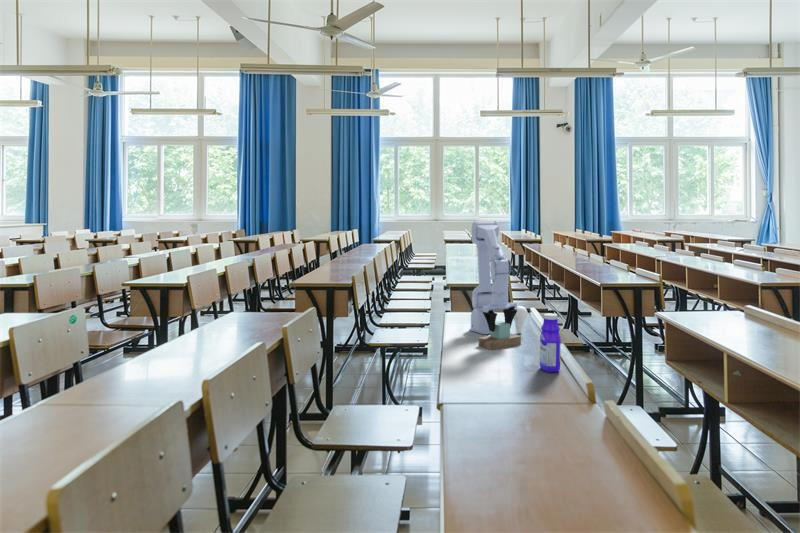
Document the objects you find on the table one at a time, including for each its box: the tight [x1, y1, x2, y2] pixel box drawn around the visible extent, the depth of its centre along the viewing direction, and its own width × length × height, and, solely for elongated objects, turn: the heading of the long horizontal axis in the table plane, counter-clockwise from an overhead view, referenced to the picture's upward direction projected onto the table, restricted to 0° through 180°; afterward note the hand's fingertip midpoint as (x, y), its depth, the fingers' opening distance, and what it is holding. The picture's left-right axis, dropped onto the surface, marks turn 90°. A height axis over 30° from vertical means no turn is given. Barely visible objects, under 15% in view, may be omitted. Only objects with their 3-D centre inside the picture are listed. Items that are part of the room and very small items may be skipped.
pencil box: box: [478, 332, 522, 351], centre depth 201 cm, size 7×14×3 cm, turn 121°
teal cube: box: [489, 320, 511, 339], centre depth 200 cm, size 5×5×5 cm
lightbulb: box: [513, 305, 529, 334], centre depth 217 cm, size 6×6×11 cm
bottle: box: [539, 312, 562, 373], centre depth 170 cm, size 7×6×17 cm
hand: (499, 329), depth 200 cm, fingers open, 7 cm apart
